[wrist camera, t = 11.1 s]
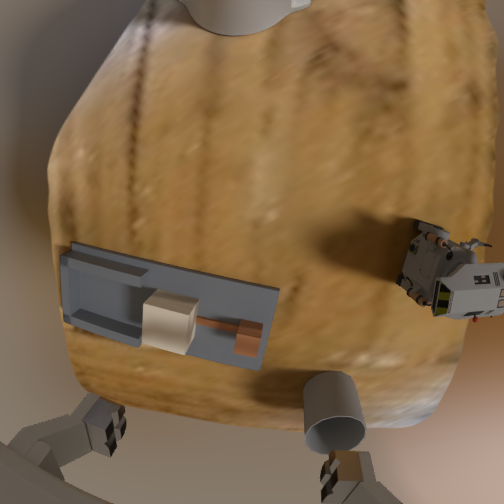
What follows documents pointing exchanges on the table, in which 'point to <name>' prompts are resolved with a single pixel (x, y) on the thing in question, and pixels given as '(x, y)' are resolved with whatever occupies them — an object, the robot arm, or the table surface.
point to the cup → (332, 413)
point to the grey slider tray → (144, 285)
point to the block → (189, 325)
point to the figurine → (451, 276)
